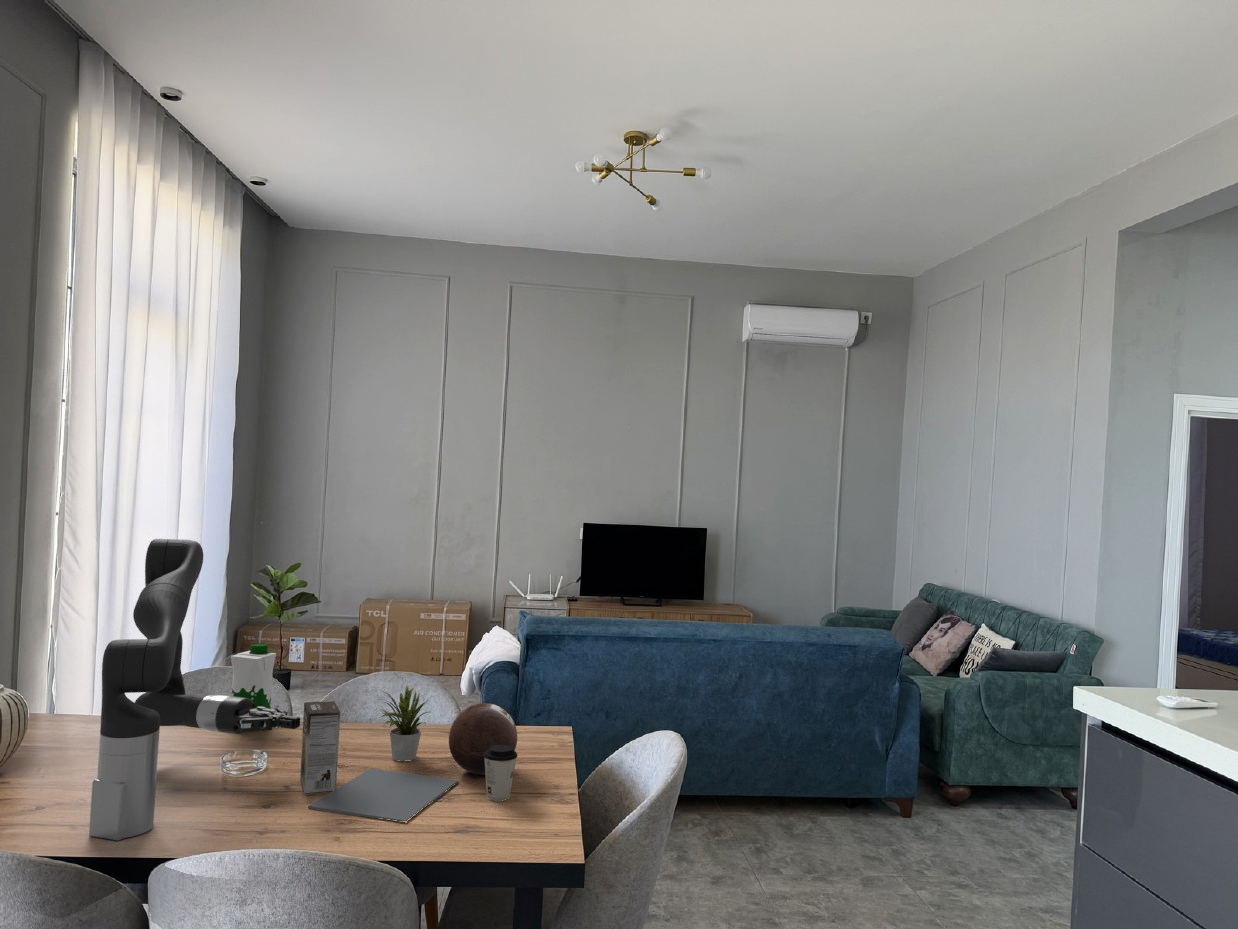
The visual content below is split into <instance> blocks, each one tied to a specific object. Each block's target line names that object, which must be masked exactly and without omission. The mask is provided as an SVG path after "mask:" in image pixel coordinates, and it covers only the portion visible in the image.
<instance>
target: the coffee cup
mask: <svg viewBox="0 0 1238 929" xmlns="http://www.w3.org/2000/svg"><path fill="white" fill-rule="evenodd" d="M484 757H485V773H486V774H485V787H486V798H487V797H488V798H489V799H491V800H495V801H494V802H503V801H502V800H505V799H508V798H509V799H510V796H511V791H512V784H513V779H514V773H515V767H516V762H517V761H516V760H517V758H518V753H517V751H516V750H515V751H514V748H513V747H512V746H507V745H494V746H491V747H490V748H489V750H487V751H485V753H484ZM489 799H488V800H489ZM509 799H508V800H509ZM491 800H490V801H491Z"/></svg>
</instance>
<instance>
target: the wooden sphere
mask: <svg viewBox="0 0 1238 929" xmlns="http://www.w3.org/2000/svg"><path fill="white" fill-rule="evenodd" d="M517 743H518V730H517V727H516V723H515V721H514V720H513V718H512V716H511V715H510V714H509V713H508V712H507V711H506V710H505V709H504V708H503V707H501V706H498V705H496V704H492V703H486V702H485V703H484V702H483V703H476V704H473V705H471V706H468V707H467V708H465V709H463V710H462V711H461V712H460V713H459V714H457V716H456V717H455V719H454V720H453V722H452V724H451V727H450V730H449V733H448V746H449V751H450V754H451V756H452V758H453V761H455V763H456V764H457V765H458V766H459V767H460V768H461V769H463V770H464V771H466V772H468V773H471V774H475V775H486V773H485V757H484V753H485V751H487V750H489V748H490V747H491V746H494V745H507V746H512V747H513V748H514V751H516V748H517V745H518V744H517Z"/></svg>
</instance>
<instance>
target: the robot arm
mask: <svg viewBox="0 0 1238 929" xmlns="http://www.w3.org/2000/svg"><path fill="white" fill-rule="evenodd" d="M144 561H145V562H144V584H145V586H144V588H143V589H142V590H141V592H140V593H139V596H138V598H137V600H136V602H135V603H136V604H135V605H134V609H133V613H132V614H133V616H132V617H133V621H134V624H135V626H136V628H137V629H138V631H139V632H140V633H141V634H142V636H144V637H145V638H139V639H137V638H135V639H133V638H132V639H131V638H128V639H127V638H126V639H123V638H121V639H113V640H111V641H110V642H108V644H107V645H106V647H105V649H104V652H103V656H102V663H101V710H100V728H99V729H100V731H99V732H100V734H99V747H98V748H99V749H98V759H97V760H98V761H97V762H98V764H97V774H96V776H97V778H96V779H93V780H92V782H91V784H92V785H91V787H92V788H91V799H90V812H89V813H90V815H89V830H88V836H89V837H96V838H102V839H107V840H113V841H121V840H123V839H126V838H131V837H135V836H138V835H142V834H145V833H148V831H150V830H152V828H154V825H155V824H154V823H155V822H154V821H155V805H156V791H157V790H156V788H157V774H158V759H159V756H158V755H159V746H160V745H159V744H160V743H159V742H160V730H161V729H160V728H161V727H179V726H180V727H181V726H182V727H188V728H196V729H203V730H206V731H210V732H217V733H225V734H231V735H238V736H239V735H240V736H241V735H244V734H245V733H246V732H247V733H248V732H250V733H251V732H252V731H253V732H264V731H265V732H266V731H272V730H273V729H276V730H277V729H281V728H283V729H288V730H289V729H291V730H295V729H298V728H300V726H301V718H300V716H293V715H288V711H287V710H286V709H285V708H284V707H282V706H280V705H275V706H274V708H271V709H267V708H266V707H262V706H259V707H257V708H256V707H255V705H254V703H253V702H252V700H251V699H249V698H243V697H234V696H232V695H225V694H206V693H196V692H195V693H194V692H192V693H186V688H185V684H184V678H183V673H182V670H181V665H182V656H183V642H184V641H183V634H182V632H181V630H182V627H183V625H184V621H185V619H186V615H187V612H188V610H189V607H190V606H189V605H190V601H191V597H192V592H193V589H194V587H195V584H196V583H197V580H198V579H199V576H200V573H201V571H202V568H203V563H204V549H203V547H202V545H201V544H200V543H199V542H198V541H196V540H191V539H177V538H176V539H175V538H173V539H172V538H154V539H152V540H151V541H150V542H149V545H148V546H147V550H146V554H145V560H144ZM126 693H127V694H128V693H129V694H130V693H133V694H134V693H142V694H141V695H139V696H138V697H137V698H136V699H135V701H132V700H131V699H130V698H128V697H127V696H126Z"/></svg>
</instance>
